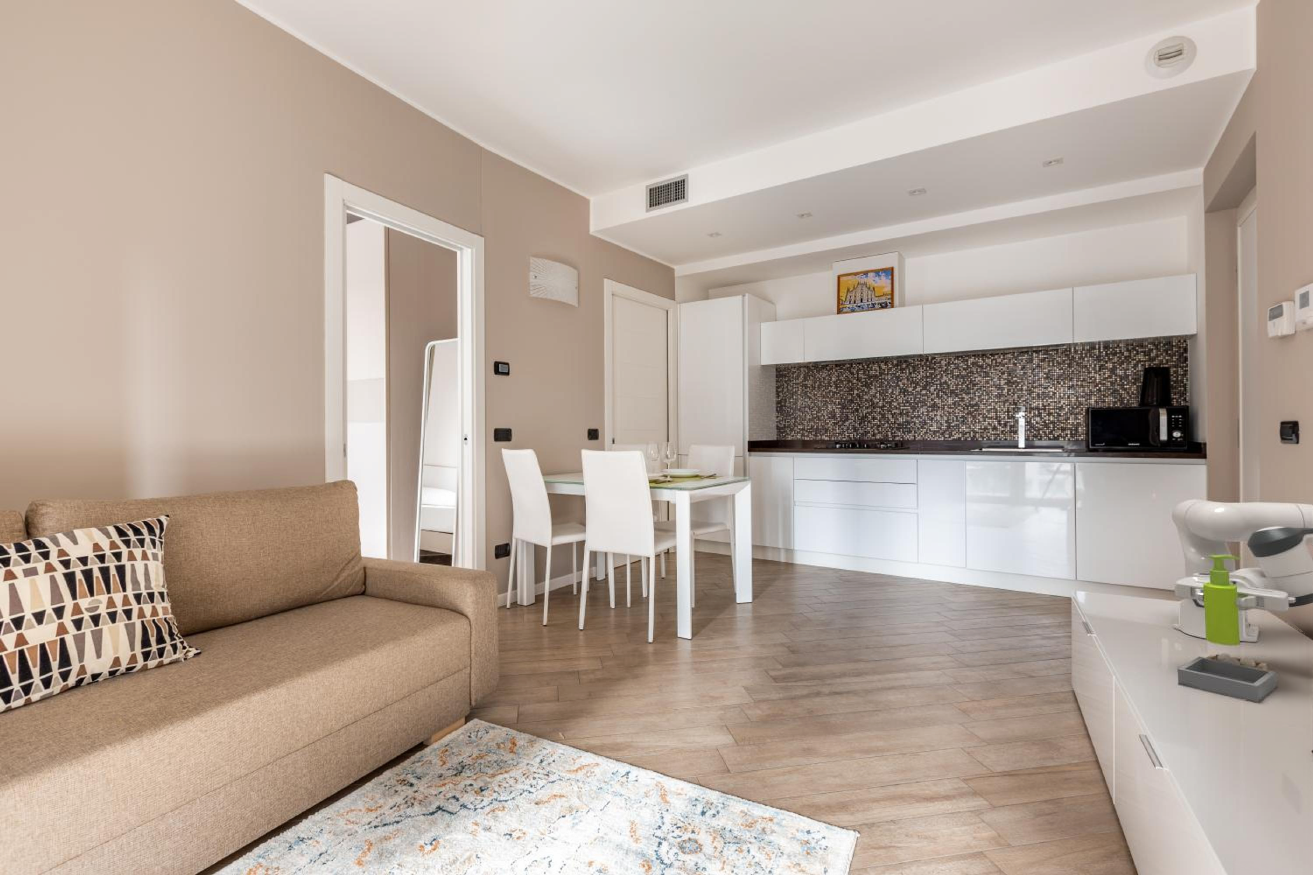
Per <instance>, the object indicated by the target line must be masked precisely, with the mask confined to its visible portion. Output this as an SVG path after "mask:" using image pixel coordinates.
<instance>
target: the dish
mask: <svg viewBox="0 0 1313 875" xmlns="http://www.w3.org/2000/svg"><path fill="white" fill-rule="evenodd" d="M1277 673H1278V672H1277V671H1272V670H1270V669H1267V670H1264V669H1259V668H1254V667H1249V666H1244V665H1239V664H1234V663H1229V662H1224V661H1219V660H1214V659H1209V658H1206V657H1203V656H1198V657H1195V659H1192V660H1191V661H1189V662H1187V663H1184V665H1182V666H1180V667H1178V668H1177V682H1178V684H1177V685H1179V686H1180V685H1181V686H1185V687H1189V688H1193V689H1198V690H1201V691H1207V692H1210V693H1214V694H1219V695H1222V696H1227V697H1231V698H1235V699H1239V698H1240V700H1244V699H1245V701H1248V700H1249V702H1252V701H1253V703H1257V704H1260V702H1263V700H1264V699H1265V698H1267V697H1268V696H1269V695H1271V694H1272V693H1273V692H1274V691H1276V690H1277V689H1278V674H1277Z"/></svg>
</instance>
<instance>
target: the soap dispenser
mask: <svg viewBox="0 0 1313 875" xmlns="http://www.w3.org/2000/svg"><path fill="white" fill-rule="evenodd" d="M1231 555H1232V554H1231ZM1231 555H1210V556H1209V558H1211V559H1214V568H1212V569H1210V582H1207V583H1203V589H1204V609H1205V630H1206V638H1205V640H1206V641H1207V642H1210V643H1213V644H1218V645H1223V646H1238V645H1240V643H1241V641H1240V637H1239V617H1238V606H1236V601H1235V599H1236V598H1237V586H1235V585H1232V584H1230V583H1229V571H1228V570H1226V569H1224V561H1223V559H1234V560H1238V561H1240V560H1241V559H1242V557H1237V556H1235V555H1232V556H1231Z"/></svg>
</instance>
